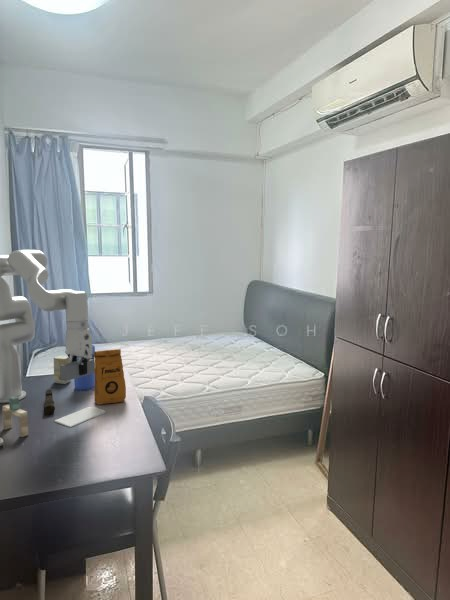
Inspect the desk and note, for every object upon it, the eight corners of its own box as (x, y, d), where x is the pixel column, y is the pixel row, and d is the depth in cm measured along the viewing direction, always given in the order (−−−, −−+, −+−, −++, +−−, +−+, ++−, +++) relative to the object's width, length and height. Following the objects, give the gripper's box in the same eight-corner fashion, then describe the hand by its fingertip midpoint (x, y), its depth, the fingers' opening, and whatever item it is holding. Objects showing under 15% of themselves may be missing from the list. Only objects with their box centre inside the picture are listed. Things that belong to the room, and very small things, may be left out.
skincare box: (53, 383, 190) (52, 357, 188) (58, 380, 194) (57, 355, 192) (66, 384, 189) (65, 358, 187) (71, 381, 193) (70, 356, 191)
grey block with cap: (60, 378, 146) (59, 365, 145) (90, 370, 157) (89, 357, 156) (67, 380, 144) (67, 367, 143) (96, 371, 155) (96, 359, 154)
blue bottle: (80, 383, 189) (78, 331, 186) (99, 384, 188) (98, 332, 185) (70, 390, 180) (68, 335, 177) (90, 391, 179) (88, 336, 176)
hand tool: (55, 415, 155) (54, 403, 154) (43, 416, 153) (43, 404, 153) (56, 397, 172) (56, 387, 172) (46, 399, 171) (45, 388, 170)
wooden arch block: (3, 428, 142) (1, 395, 140) (9, 426, 143) (7, 393, 142) (22, 437, 136) (20, 402, 134) (28, 434, 137) (26, 400, 136)
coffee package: (127, 403, 166) (126, 351, 163) (95, 407, 162) (93, 354, 159) (124, 395, 175) (123, 345, 172) (93, 399, 171) (92, 348, 168)
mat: (54, 421, 148) (54, 420, 148) (90, 407, 162) (90, 406, 162) (70, 427, 143) (70, 426, 143) (105, 412, 157) (105, 411, 157)
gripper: (101, 325, 147) (102, 374, 149) (71, 321, 156) (73, 367, 158) (83, 329, 140) (85, 380, 143) (54, 323, 149) (56, 372, 152)
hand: (79, 372), depth 150 cm, fingers closed on grey block with cap, 4 cm apart
